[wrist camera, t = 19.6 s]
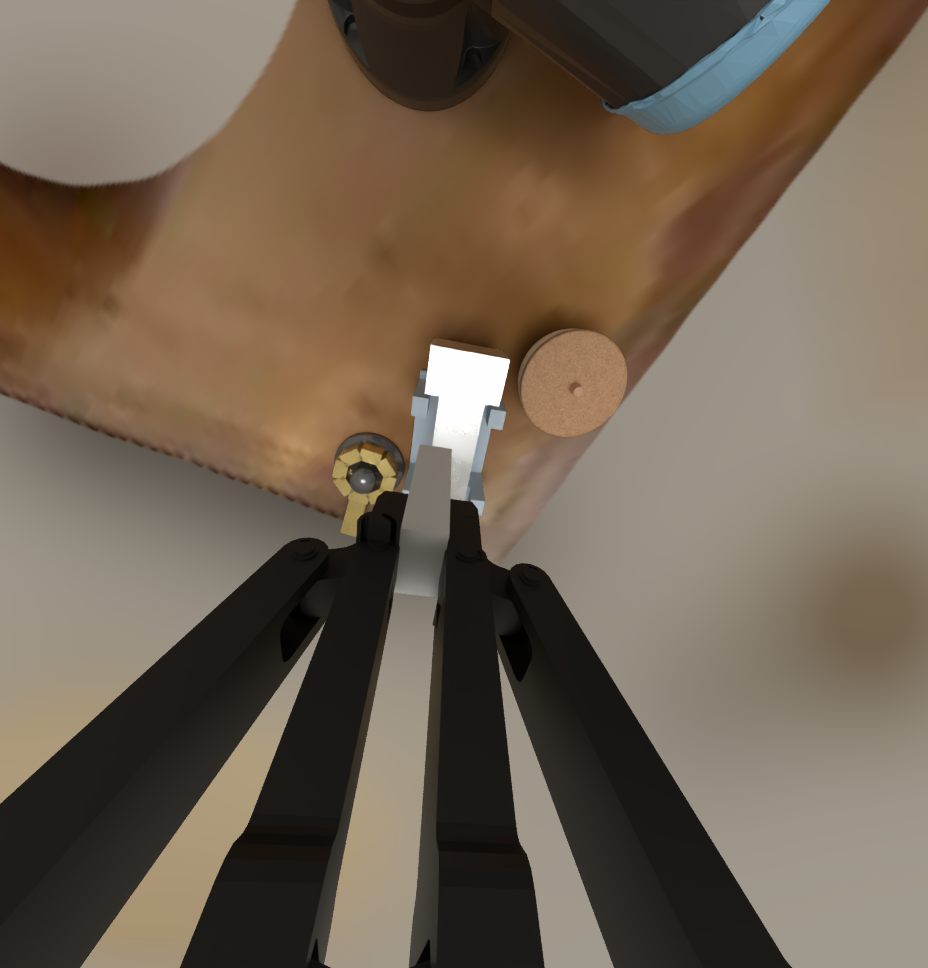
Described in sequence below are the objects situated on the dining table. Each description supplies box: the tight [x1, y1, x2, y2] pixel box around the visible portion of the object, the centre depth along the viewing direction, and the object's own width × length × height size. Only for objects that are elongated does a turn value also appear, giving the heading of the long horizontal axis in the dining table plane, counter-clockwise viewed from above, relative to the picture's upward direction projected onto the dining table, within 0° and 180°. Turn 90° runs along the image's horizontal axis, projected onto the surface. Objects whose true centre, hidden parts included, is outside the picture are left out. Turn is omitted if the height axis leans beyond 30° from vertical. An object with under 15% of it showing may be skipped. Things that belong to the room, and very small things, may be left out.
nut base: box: [335, 433, 404, 494], centre depth 46 cm, size 9×9×6 cm
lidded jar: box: [518, 328, 627, 437], centre depth 39 cm, size 11×11×9 cm
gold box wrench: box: [332, 440, 399, 537], centre depth 47 cm, size 13×8×3 cm, turn 159°
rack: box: [403, 369, 506, 515], centre depth 43 cm, size 15×10×8 cm, turn 170°
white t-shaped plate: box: [425, 338, 510, 501], centre depth 39 cm, size 21×7×5 cm, turn 170°
